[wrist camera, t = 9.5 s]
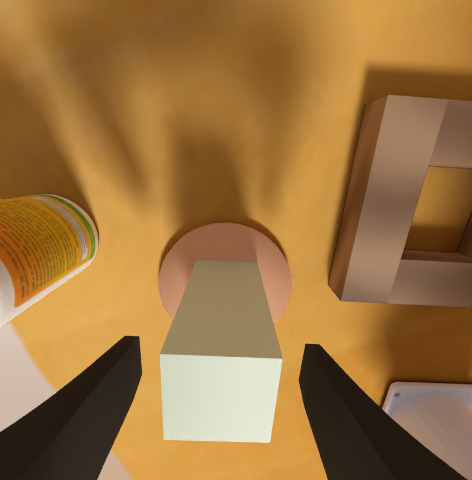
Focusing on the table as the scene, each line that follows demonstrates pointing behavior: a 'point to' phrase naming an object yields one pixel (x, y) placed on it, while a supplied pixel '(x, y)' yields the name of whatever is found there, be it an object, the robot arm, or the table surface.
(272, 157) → the table surface
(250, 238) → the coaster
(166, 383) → the peg
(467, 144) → the block
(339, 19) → the table surface
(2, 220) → the supplement bottle
